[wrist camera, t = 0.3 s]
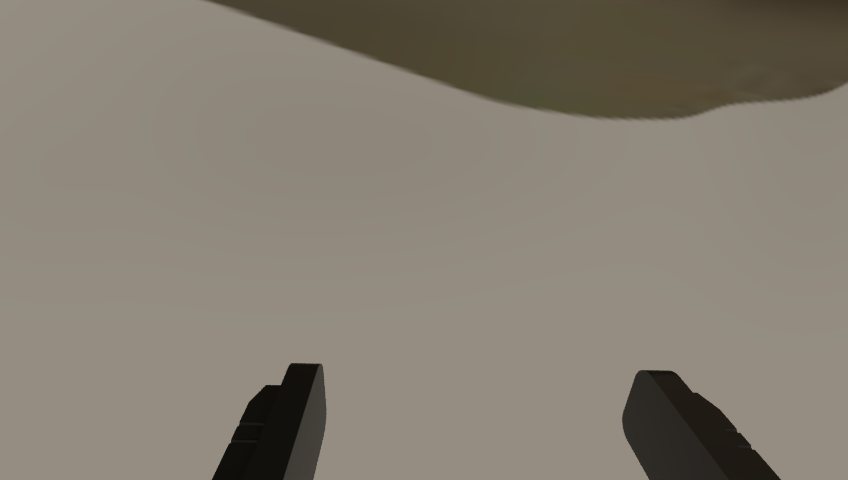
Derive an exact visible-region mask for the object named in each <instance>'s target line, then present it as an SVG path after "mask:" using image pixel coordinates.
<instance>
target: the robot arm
mask: <svg viewBox="0 0 848 480" xmlns="http://www.w3.org/2000/svg"><path fill="white" fill-rule="evenodd" d="M622 423H623V429H624V433H625V436H626V439H627V441H628V442H629V444H630V446H631V447H632V450H633V451H634V453H635V455H636V457H637V458H638V460H639V462H640V464H641V466H642V467H643V469H644V471H645V472H646V474H647V476H648V478H649V480H781V479H780V478H779V477H778V476H777V475H776V474H775V472H774V471H773V470H772V469H771V468H770V467H769V465H768V464H767V463H766V462H765V461H764V460H763V459H762V457H761V456H760V455H759V454H758V453H757V452H756V451H755V450H752V448H751V445H750V444H749V443H748V441H747V440H746V439H745V438H744V437H743V436H742V434H741V433H737V429H736V428H735V427H734V425H733V424H732V423H731V422H730V421H729V420H728V418H726V416H725V415H724V414H723V413H722V412H721V411H720V409H718V408H717V407H716V406H714V405H713V404H712V403H710V402H709V401H707V400H706V399H705V398H703V397H702V396H701V395H699V394H698V393H693V392H692V391H691V390H690V389H689V388H688V386H687V385H686V384H685V383H684V382H683V381H682V379H681V378H680V377H679V376H678V375H677V374H676V373H674V372H673V371H659V370H656V371H655V370H641V371H639V372H638V373H637V374H636V376H635V379H634V382H633V385H632V388H631V391H630V394H629V397H628V400H627V403H626V406H625V409H624V412H623V417H622ZM325 424H326V399H325V386H324V374H323V366H322V364H305V363H291V364H290V365H289V367H288V370H287V372H286V374H285V376H284V380H283V382H282V384H281V385H266V386H265V387H264V388H263V389H262V390H261V391H260V392H259V393H258V394H257V395H256V396H255V397H254V398H253V399H252V400H251V401H250V402H249V403H248V405H247V408H246V410H245V412H244V414H243V416H242V418H241V420H240V424H239V426H238V427H237V428H236V430H235V433H234V435H233V437H232V440H231V443H230V444H229V445H228V447H227V449H226V451H225V453H224V455H223V458H222V460H221V462H220V464H219V466H218V468H217V470H216V472H215V474H214V476H213V478H212V480H313V478H314V474H315V470H316V465H317V461H318V457H319V453H320V449H321V445H322V440H323V436H324V431H325Z"/></svg>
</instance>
